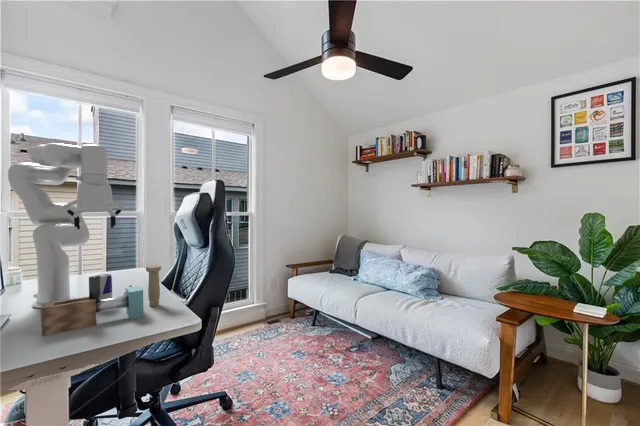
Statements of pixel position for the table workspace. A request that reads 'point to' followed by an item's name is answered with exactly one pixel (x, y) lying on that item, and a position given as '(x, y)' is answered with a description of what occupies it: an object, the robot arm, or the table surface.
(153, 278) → the handle
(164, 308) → the table surface
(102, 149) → the robot arm
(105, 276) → the energy drink
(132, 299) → the socket
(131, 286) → the rabbit figure
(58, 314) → the wood grain block
